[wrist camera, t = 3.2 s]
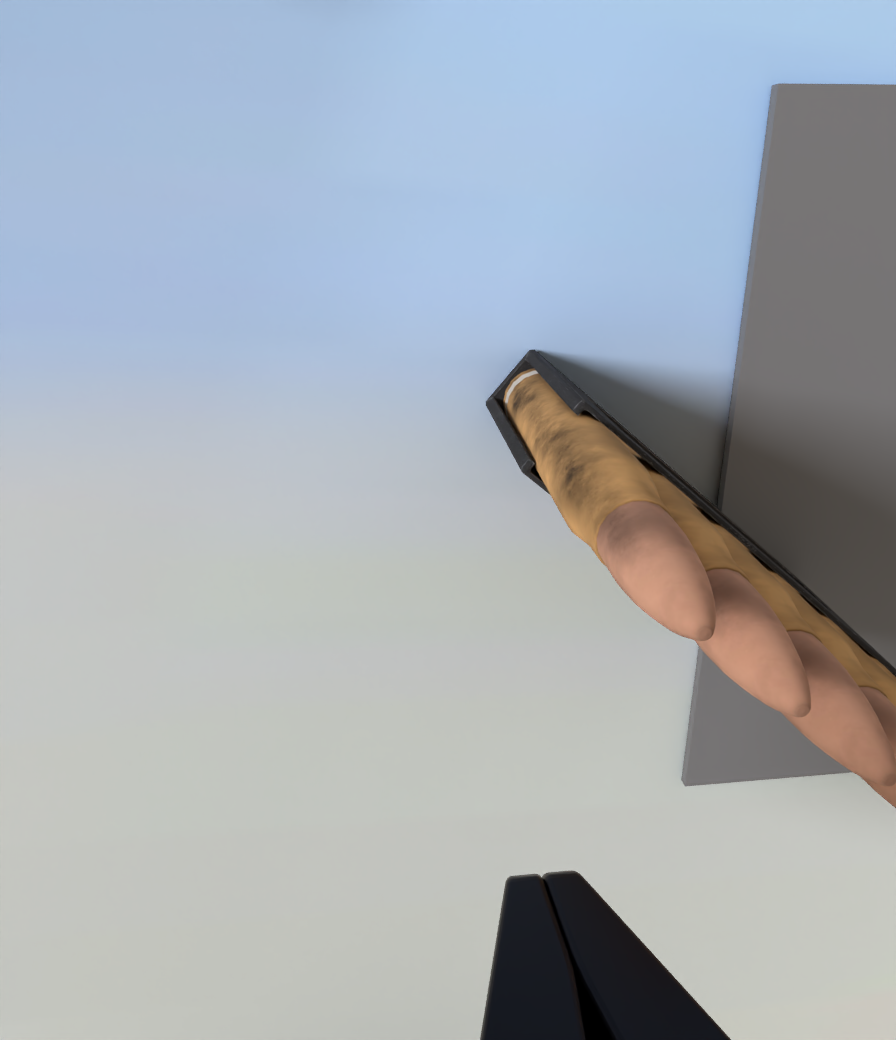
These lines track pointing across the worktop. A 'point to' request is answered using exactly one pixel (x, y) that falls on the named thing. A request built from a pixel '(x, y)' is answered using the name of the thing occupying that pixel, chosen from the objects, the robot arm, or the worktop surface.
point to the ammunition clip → (701, 571)
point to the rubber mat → (812, 403)
